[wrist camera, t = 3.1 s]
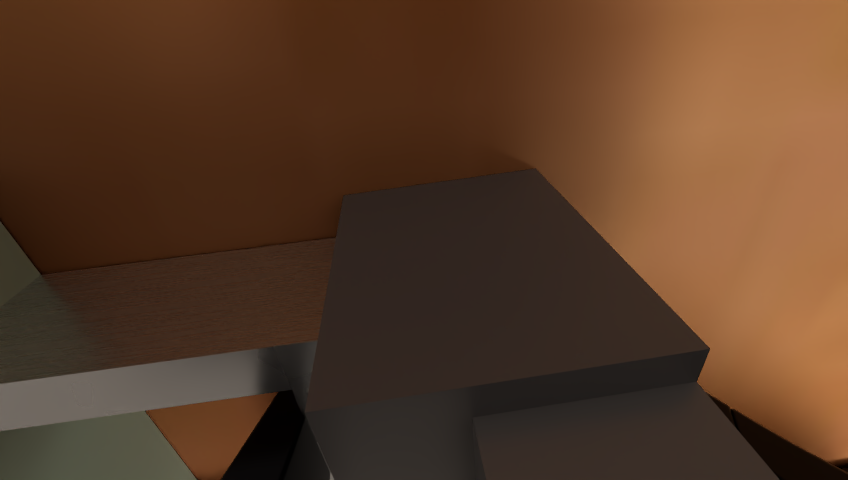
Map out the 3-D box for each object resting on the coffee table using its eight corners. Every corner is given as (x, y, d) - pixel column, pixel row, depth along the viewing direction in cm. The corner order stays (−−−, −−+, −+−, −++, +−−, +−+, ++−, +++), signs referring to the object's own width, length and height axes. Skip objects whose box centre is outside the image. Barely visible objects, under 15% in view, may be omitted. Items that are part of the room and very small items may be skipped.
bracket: (352, 235, 8) (341, 336, 6) (407, 491, 14) (413, 599, 12) (40, 274, 8) (-116, 400, 5) (227, 519, 14) (193, 636, 11)
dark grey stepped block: (534, 167, 8) (879, 522, 3) (524, 384, 12) (653, 720, 6) (343, 193, 8) (266, 629, 2) (393, 404, 12) (408, 767, 6)
